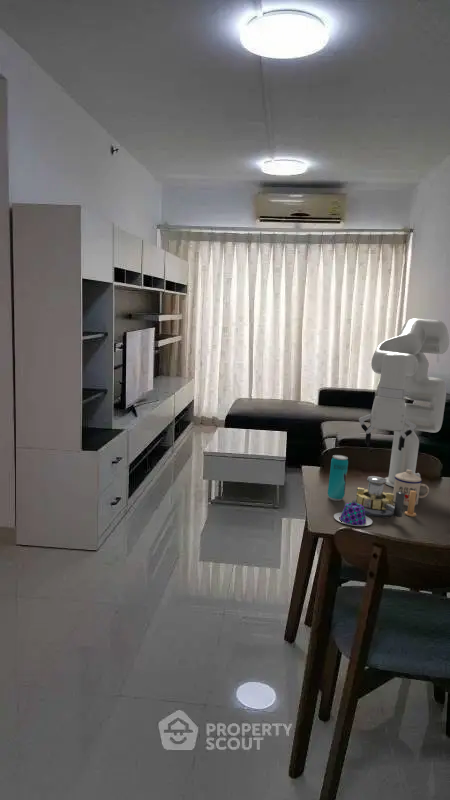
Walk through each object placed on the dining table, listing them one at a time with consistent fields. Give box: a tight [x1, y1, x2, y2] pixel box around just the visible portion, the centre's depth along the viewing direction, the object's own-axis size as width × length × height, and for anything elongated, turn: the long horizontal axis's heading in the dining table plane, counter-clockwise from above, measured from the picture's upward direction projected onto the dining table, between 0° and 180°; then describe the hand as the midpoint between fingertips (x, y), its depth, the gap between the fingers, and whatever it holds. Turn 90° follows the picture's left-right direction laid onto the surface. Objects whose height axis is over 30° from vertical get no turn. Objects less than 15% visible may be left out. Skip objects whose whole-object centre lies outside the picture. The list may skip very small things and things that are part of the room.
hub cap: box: [351, 475, 395, 519], centre depth 202 cm, size 14×14×11 cm
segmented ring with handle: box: [355, 487, 405, 518], centre depth 199 cm, size 19×12×8 cm, turn 24°
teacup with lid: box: [392, 469, 430, 507], centre depth 213 cm, size 12×9×12 cm
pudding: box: [333, 502, 373, 527], centre depth 192 cm, size 12×12×5 cm
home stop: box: [404, 490, 417, 517], centre depth 201 cm, size 4×4×8 cm
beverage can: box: [327, 454, 349, 502], centre depth 211 cm, size 6×6×15 cm
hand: (383, 447), depth 191 cm, fingers open, 9 cm apart
